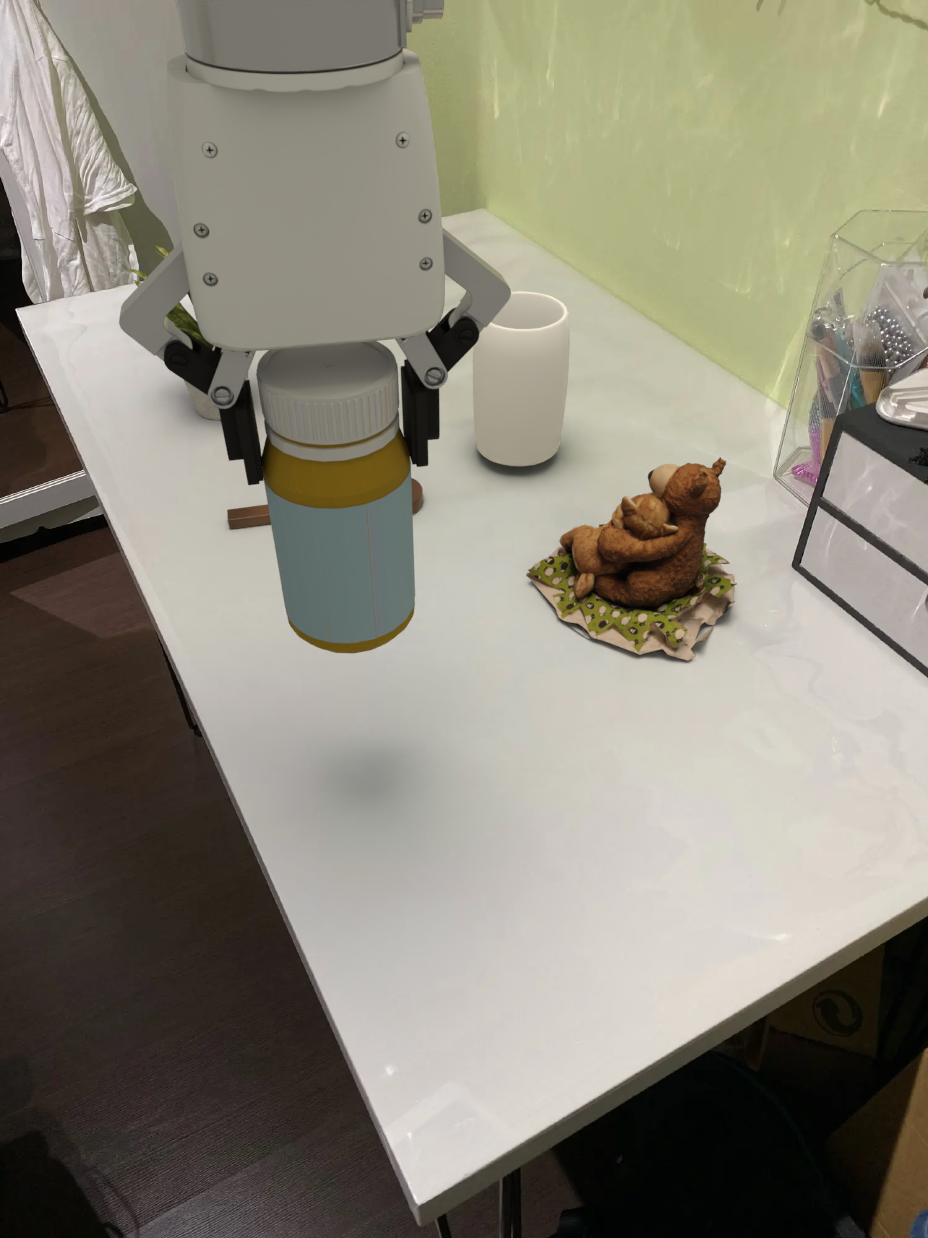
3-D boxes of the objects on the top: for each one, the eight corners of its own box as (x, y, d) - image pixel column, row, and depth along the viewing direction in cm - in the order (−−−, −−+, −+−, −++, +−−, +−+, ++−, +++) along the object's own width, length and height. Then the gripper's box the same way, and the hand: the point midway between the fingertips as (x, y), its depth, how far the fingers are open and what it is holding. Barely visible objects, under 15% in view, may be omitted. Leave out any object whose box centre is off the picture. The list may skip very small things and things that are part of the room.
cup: (509, 420, 90) (513, 280, 81) (579, 450, 86) (592, 306, 77) (454, 457, 86) (451, 313, 76) (525, 490, 82) (532, 343, 72)
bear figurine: (597, 515, 79) (611, 388, 71) (758, 583, 72) (796, 452, 64) (505, 598, 71) (510, 467, 63) (677, 684, 64) (707, 550, 56)
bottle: (439, 627, 49) (437, 375, 39) (325, 679, 46) (289, 422, 36) (375, 559, 54) (358, 315, 43) (266, 602, 51) (220, 352, 40)
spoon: (230, 541, 77) (227, 530, 76) (228, 507, 80) (226, 496, 79) (427, 514, 79) (427, 503, 78) (417, 482, 83) (417, 471, 82)
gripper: (512, -9, 35) (495, 402, 47) (37, 2, 32) (150, 436, 44) (568, 32, 30) (533, 484, 42) (5, 50, 27) (143, 528, 39)
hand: (336, 457), depth 43 cm, fingers closed on bottle, 7 cm apart
